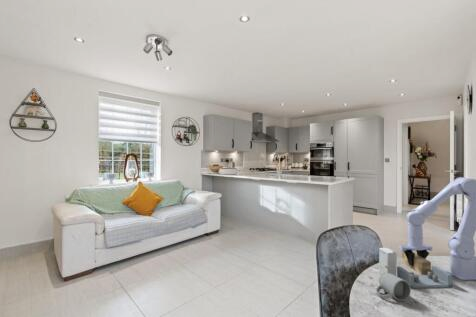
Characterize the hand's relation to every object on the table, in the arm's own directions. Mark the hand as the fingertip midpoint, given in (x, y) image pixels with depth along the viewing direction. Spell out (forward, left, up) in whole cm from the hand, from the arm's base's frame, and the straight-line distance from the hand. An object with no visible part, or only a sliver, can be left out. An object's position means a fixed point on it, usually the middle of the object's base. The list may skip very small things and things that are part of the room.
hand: (415, 265), depth 110 cm
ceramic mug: (+26, +21, -2) cm, 33 cm away
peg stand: (+6, +12, -2) cm, 14 cm away
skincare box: (+18, +7, -2) cm, 19 cm away
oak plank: (0, 0, -2) cm, 2 cm away
